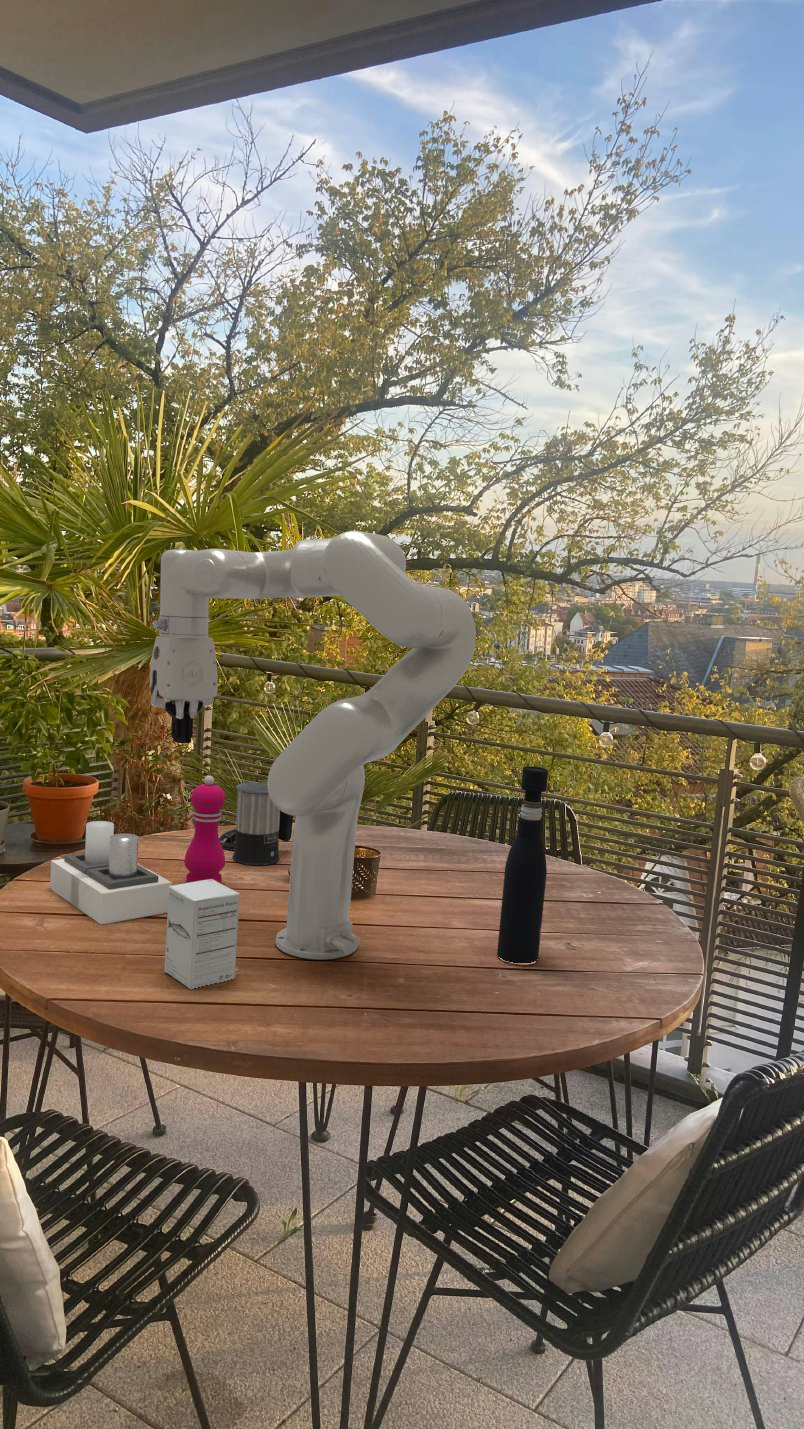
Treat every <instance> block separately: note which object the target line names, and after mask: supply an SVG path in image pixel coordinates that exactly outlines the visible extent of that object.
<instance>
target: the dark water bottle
mask: <svg viewBox="0 0 804 1429" xmlns="http://www.w3.org/2000/svg"><path fill="white" fill-rule="evenodd" d="M521 772H522V774H521V782H520V784H521V785H520V789H521V790H522V791H524V799H523V803H524V804H522V805H521V807H520V810H521V811H520V815H519V817H518V818H517V828H516V836H515V838H514V840H513V842H512V844H511V847H510V849H509V851H508V854H507V857H506V858H507V859H506V861H505V865H504V876H503V877H504V878H503V887H502V897H501V908H500V917H499V918H500V920H499V929H498V940H497V950H496V951H497V952H496V956H497V955H498V957H500V958H502V959H503V960H505V961H509V962H513V963H531V962H534V961H537V959H538V960H539V954H540V944H541V934H542V924H543V922H542V921H543V914H544V913H543V912H544V905H545V904H544V903H545V894H546V893H545V892H546V883H547V872H548V869H547V858H546V857H547V856H546V852H545V847H544V842H543V839H542V833H543V827H544V826H543V825H544V824H543V823H544V820H543V818H542V816H543V814H542V812H543V809H542V808H543V807H542V806H541V804H542V801H541V800H542V793H546V792H547V787H548V786H547V785H548V778H549V777H548V776H549V769H547V768H545V767H541V766H532V765H531V766H524V767H522V771H521ZM498 957H497V958H498ZM537 962H538V961H537Z"/></svg>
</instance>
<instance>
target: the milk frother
mask: <svg viewBox="0 0 804 1429" xmlns="http://www.w3.org/2000/svg"><path fill="white" fill-rule="evenodd" d="M235 788H236V789H237V800H236V801H237V802H236V819H235V820H236V821H235V828H233V829H231V830H229V831H226V832H224V833H223V834H221V835H219V840H220V843H221V845H222V848H223V849H224V848H225V849H227V850H234V851H233V855H232V860H233V861H235V862H237V863H239V864H242V865H246V866H247V865H248V866H268V865H272V864H276V863H277V862H279V860H280V856H279V851H280V850H279V844H280V843H279V841H282V842H289V841H291V838H292V834H293V826H294V825H293V824H294V816H293V815H289V814H286V813H284V812H282V811H281V810H279V809H278V808H277V807H276V806H275V805H274V804H273V802H272V800H271V798H270V796H269V793H268V786H267V782H260V781H259V782H255V781H253V782H243V783H240V784H236V786H235Z"/></svg>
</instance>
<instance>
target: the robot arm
mask: <svg viewBox="0 0 804 1429" xmlns="http://www.w3.org/2000/svg"><path fill="white" fill-rule="evenodd" d="M406 570H407V560H406V556H405V553H404V551H403V549H402V548H401V546H400V545H399V543H397V542H396V541H395V540H394V539H392V538H391V537H388V536H385V535H383V534H379V533H378V534H377V533H372V532H366V531H360V530H349V531H345V532H342V533H340V534H338V535H336V536H335V537H330V538H317V539H316V538H315V539H303V540H299V541H297V543H295V544H294V545H293V547H292V549H285V550H274V551H256V552H254V551H252V552H251V551H243V550H234V549H223V548H207V549H199V550H196V549H195V550H193V549H192V550H191V549H179V548H178V549H176V548H175V549H167V550H165V551H164V552H163V553H162V555H161V558H160V596H159V597H160V598H159V599H160V600H159V605H160V606H159V616H158V619H157V620H153V622H152V628H153V629H155V630H158V633H159V635H156V637H155V640H154V644H153V650H152V656H151V662H150V672H149V676H150V677H149V691H150V695H151V699H150V706H152V707H156V708H160V709H163V710H164V711H165V713H167V714H168V716H169V718H171V726H170V727H171V728H170V729H171V732H170V733H171V738H172V741H173V742H174V743H178V744H181V745H182V744H192V737H193V734H194V732H193V730H194V719H195V718H196V717H197V714H198V713H199V712H200V711H201V710H202V708H203V707H207V706H210V705H213V703H214V698H215V697H216V696H217V695H218V666H217V664H218V663H217V654H216V649H215V643H214V638H213V637H209V603H210V602H209V601H210V600H209V599H210V598H213V599H239V600H258V599H259V600H260V599H261V600H262V599H263V600H264V599H279V598H296V597H297V598H301V599H306V598H322V597H323V598H324V597H326V598H327V597H339V596H341V597H342V598H343V599H345V601H346V602H347V603H348V604H349V605H351V606H352V608H354V609H355V611H356V612H358V614H360V615H361V616H362V617H363V618H364V619H365V620H366V621H367V622H368V623H369V624H370V625H371V626H372V627H373V628H375V630H377V631H378V632H379V633H380V634H381V635H382V636H383V637H384V638H386V639H387V640H388V641H390V642H391V643H393V644H395V645H397V646H399V647H403V648H407V649H408V648H409V649H410V648H411V649H410V650H409V652H407V653H406V654H405V655H404V656H403V657H402V658H400V659H399V660H398V661H396V662H395V663H394V664H393V665H392V666H391V667H390V668H389V669H388V670H387V671H386V672H385V674H384V675H383V676H382V677H381V678H380V679H379V680H378V681H377V682H376V683H375V684H374V685H373V686H372V687H371V688H369V690H368V691H366V692H365V693H363V694H361V695H358V696H354V697H348V698H343V699H339V700H337V701H335V702H332V703H330V704H329V705H327V706H326V707H325V708H323V709H322V710H321V711H319V713H318V714H316V715H315V717H314V718H313V719H311V721H310V722H309V723H308V724H307V725H306V726H305V727H304V728H302V730H301V731H300V733H298V734H297V735H296V737H295V738H294V739H292V741H291V742H290V743H289V744H288V745H287V746H286V747H285V749H284V750H282V751H281V753H280V754H279V755H278V756H277V758H276V759H275V760H274V761H273V763H272V765H271V767H270V769H269V771H268V776H267V781H266V783H267V786H268V793H269V796H270V798H271V800H272V802H273V804H274V805H275V806H276V807H277V808H278V809H279V810H281V811H282V812H284V813H286V814H289V815H293V817H295V818H294V823H293V824H294V825H293V829H292V844H291V853H290V854H291V857H290V871H289V872H290V874H289V885H288V888H289V889H288V899H287V900H288V901H287V917H286V918H287V919H286V927H285V928H282V929H281V930H279V931H278V932H277V934H276V935H275V945H276V947H277V948H278V949H279V950H280V951H282V952H283V953H285V954H287V955H290V956H293V957H296V958H301V959H307V960H319V961H320V960H321V961H322V960H323V961H325V960H334V959H340V958H344V957H347V956H349V955H351V954H352V953H354V952H356V950H357V949H358V947H359V946H360V945H361V939H360V938H359V937H357V936H356V935H355V934H354V933H353V923H352V922H351V921H350V915H351V914H350V913H351V901H352V900H351V899H352V888H353V887H352V886H353V872H354V860H355V850H356V837H357V836H356V835H357V826H358V825H357V824H358V818H359V812H360V808H361V804H362V799H363V794H364V788H365V784H366V783H365V780H366V773H365V771H366V770H365V767H364V765H365V764H367V763H371V762H374V761H377V760H381V759H384V758H385V757H388V756H389V755H390V754H391V753H393V752H394V751H395V750H396V748H398V747H399V746H400V744H401V743H402V742H403V741H404V740H405V739H406V738H407V737H408V736H409V735H410V733H411V732H412V731H414V729H416V728H417V726H418V725H419V724H420V723H422V721H423V720H425V718H426V717H427V716H428V715H429V714H430V713H431V711H433V709H434V708H436V706H438V704H439V703H440V702H441V701H443V699H444V698H445V697H446V696H447V695H448V694H449V693H450V692H451V690H453V688H454V687H455V686H456V685H457V684H458V682H459V681H460V680H461V679H462V678H463V676H464V674H465V673H466V671H467V669H468V668H469V666H470V664H471V661H472V658H473V655H474V652H475V646H476V636H477V634H476V625H475V620H474V616H473V614H472V611H471V609H470V607H469V605H468V603H467V602H466V601H465V599H464V598H462V597H461V596H460V595H459V594H458V593H457V592H454V591H453V590H451V589H448V588H443V587H440V586H431V585H430V586H429V585H419V584H418V583H417V582H416V581H414V580H413V578H411V577H410V576H409V575H408V574H407V573H406Z"/></svg>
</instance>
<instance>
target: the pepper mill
mask: <svg viewBox="0 0 804 1429" xmlns="http://www.w3.org/2000/svg"><path fill="white" fill-rule="evenodd" d="M214 783H215V779H214V777H213V776H212V775H207V776H205V777H204V779H203V784H200V785H198V786H196V787H195V788H194V789H193V790H192V793H191V796H190V803H191V805H192V807H193V808H194V810H193V812H192V813H193V816H192V819H193V820H194V821H195V822H194V824H195V828H194V834H193V838H192V840H191V842H190V844H189V846H188V848H187V850H186V852H185V856H184V860H183V862H184V863H183V864H184V866H185V868H186V869H187V870H188V873H187V874H186V880H185V883H190V882H196V881H202V880H209V879H213V880H215V881H217V882H219V883H220V884H222V882H223V881H222V879H223V875H222V874H221V873H220V872H221V871H222V870H223V869H224V867H225V865H226V855H225V854H226V853H225V851H224V847H222V845H221V843H220V840H219V838H220V835H219V822H220V821H221V820H222V813H223V812H222V811H220V810H221V809H222V808H223V807H224V805H225V803H226V793H225V792H224V790H223V789H222V788H221V787H220V786H219V785H217V784H214Z"/></svg>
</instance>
